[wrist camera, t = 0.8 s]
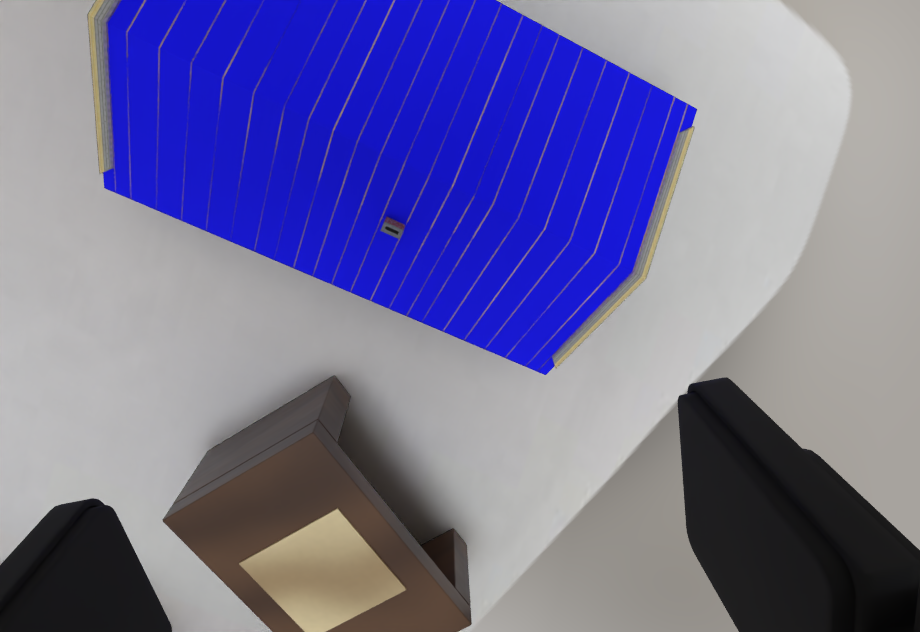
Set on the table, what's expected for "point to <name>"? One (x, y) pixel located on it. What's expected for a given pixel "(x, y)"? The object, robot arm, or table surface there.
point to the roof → (398, 154)
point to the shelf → (315, 531)
